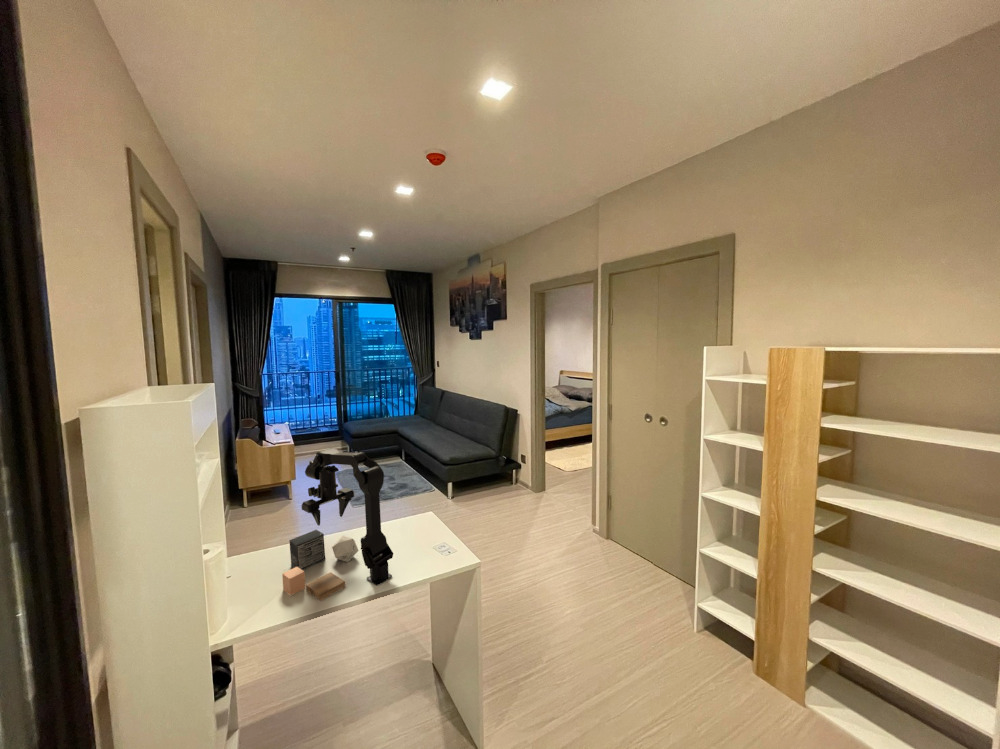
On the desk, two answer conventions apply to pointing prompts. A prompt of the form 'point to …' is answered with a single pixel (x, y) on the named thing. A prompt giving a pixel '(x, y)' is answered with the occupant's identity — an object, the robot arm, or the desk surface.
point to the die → (345, 548)
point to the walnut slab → (325, 586)
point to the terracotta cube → (293, 580)
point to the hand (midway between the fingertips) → (330, 520)
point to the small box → (307, 549)
